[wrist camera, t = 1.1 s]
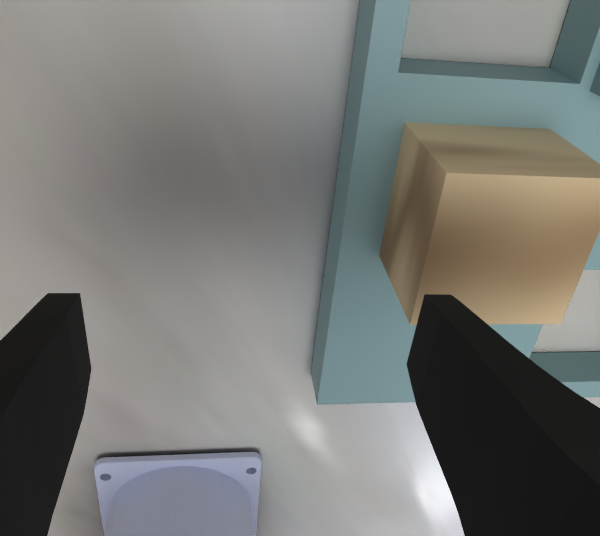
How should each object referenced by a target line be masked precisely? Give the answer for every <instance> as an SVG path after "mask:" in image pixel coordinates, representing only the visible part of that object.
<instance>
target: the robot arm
mask: <svg viewBox="0 0 600 536" xmlns="http://www.w3.org/2000/svg"><path fill="white" fill-rule="evenodd" d="M407 369H408V373H409V377H410V382H411V386H412V390H413V394H414V398H415V401H416V405H417V408H418V410H419V413H420V416H421V418H422V421H423V423H424V426H425V429H426V431H427V434H428V436H429V439H430V441H431V444H432V446H433V449H434V451H435V454H436V456H437V459H438V461H439V464H440V466H441V469H442V471H443V474H444V476H445V479H446V481H447V484H448V486H449V489H450V491H451V494H452V497H453V499H454V502H455V505H456V508H457V511H458V514H459V517H460V520H461V524H462V527H463V531H464V534H465V536H600V408H599V407H597V406H595V405H594V404H592V403H591V402H589V401H588V400H586V399H584V398H583V397H581V396H580V395H578V394H577V393H575V392H574V391H572V390H571V389H570V388H568V387H567V386H565V385H564V384H562V383H561V382H560V381H558V380H557V379H556V378H554V377H553V376H552V375H550V374H549V373H548V372H546V371H545V370H543V369H542V368H541V367H539V366H538V365H537V364H536V363H534V362H533V361H532V360H530V359H529V358H528V357H527V356H525V355H524V354H523V353H522V352H520V351H519V350H518V349H517V348H515V347H514V346H513V345H512V344H510V343H509V342H508V341H507V340H506V339H504V338H503V337H502V336H501V335H500V334H498V333H497V332H496V331H495V330H494V329H492V328H491V327H490V326H489V325H488V324H487V323H485V322H484V321H483V320H482V319H481V318H479V317H478V316H477V315H476V314H475V313H474V312H472V311H471V310H470V309H469V308H468V307H466V306H465V305H464V304H463V303H462V302H460V301H459V300H458V299H456V298H455V297H454V296H452V295H451V294H424V298H423V302H422V306H421V310H420V314H419V317H418V321H417V325H416V329H415V333H414V337H413V341H412V345H411V349H410V352H409V356H408V360H407ZM90 373H91V364H90V358H89V351H88V344H87V337H86V331H85V324H84V317H83V311H82V304H81V297H80V293H48V294H47V295H46V296H45V297H43V298H42V299H41V300H40V301H39V302H38V303H37V304H36V305H35V306H34V307H33V308H32V309H31V310H30V311H29V312H28V313H27V314H26V315H25V316H24V318H23V319H22V320H21V321H20V322H19V323H18V324H17V325H16V326H15V327H14V328H13V329H12V330H11V331H10V332H9V333H8V334H7V335H6V336H5V337H4V338H3V339H2V340H0V536H47V534H48V530H49V527H50V523H51V519H52V515H53V512H54V509H55V505H56V502H57V499H58V496H59V493H60V489H61V486H62V483H63V480H64V476H65V473H66V470H67V467H68V464H69V460H70V457H71V454H72V451H73V447H74V444H75V441H76V438H77V434H78V431H79V428H80V424H81V421H82V418H83V414H84V409H85V403H86V398H87V392H88V386H89V380H90ZM251 467H252V468H251ZM261 467H262V459H261V455H260V454H259V453H256V452H233V453H207V454H181V455H155V456H129V457H105V458H100V459H98V460H97V461H96V462H95V466H94V475H95V481H96V487H97V493H98V500H99V506H100V512H101V519H102V525H103V531H104V536H256V530H257V517H258V505H259V492H260V480H261Z"/></svg>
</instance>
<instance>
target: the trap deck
mask: <svg viewBox="0 0 600 536" xmlns="http://www.w3.org/2000/svg"><path fill="white" fill-rule="evenodd" d="M410 1H411V0H360V3H359V11H358V19H357V26H356V34H355V41H354V49H353V57H352V64H351V72H350V79H349V87H348V94H347V102H346V110H345V117H344V125H343V132H342V140H341V148H340V155H339V163H338V170H337V178H336V186H335V193H334V201H333V208H332V216H331V224H330V231H329V239H328V246H327V254H326V261H325V269H324V277H323V284H322V292H321V299H320V307H319V315H318V322H317V330H316V337H315V345H314V353H313V360H312V368H311V375H312V380H313V386H314V391H315V396H316V401H317V405H319V404H356V403H394V402H416V401H415V398H414V394H413V390H412V386H411V382H410V377H409V373H408V369H407V360H408V356H409V352H410V349H411V345H412V341H413V337H414V333H415V329H416V325H410V324H409V322H408V319H407V317H406V315H405V313H404V310H403V308H402V306H401V304H400V301H399V299H398V297H397V295H396V292H395V290H394V288H393V286H392V284H391V281H390V279H389V277H388V275H387V272H386V270H385V268H384V266H383V263H382V261H381V259H380V257H379V255H380V250H381V244H382V239H383V234H384V229H385V223H386V218H387V213H388V208H389V202H390V197H391V192H392V186H393V181H394V176H395V171H396V165H397V160H398V155H399V150H400V144H401V139H402V134H403V128H404V123H405V122H415V123H436V124H457V125H477V126H498V127H519V128H539V129H551V130H552V131H554V132H555V133H557V134H558V135H560V136H561V137H562V138H564V139H565V140H567V141H568V142H569V143H571V144H572V145H574V146H575V147H577V148H578V149H579V150H581V151H582V152H584V153H585V154H586V155H588V156H589V157H591V158H592V159H594V160H595V161H596V162H598V163H599V164H600V0H571V2H570V5H569V8H568V11H567V14H566V18H565V21H564V24H563V27H562V30H561V34H560V37H559V40H558V43H557V46H556V50H555V53H554V56H553V59H552V62H551V66H550V68H542V67H527V66H511V65H496V64H481V63H465V62H450V61H435V60H420V59H404V58H401V53H402V47H403V41H404V36H405V30H406V24H407V18H408V13H409V7H410ZM583 270H600V231H599V233H598V236H597V238H596V241H595V243H594V245H593V248H592V250H591V253H590V255H589V257H588V260H587V262H586V265H585V267H584V269H583ZM488 325H489V326H490V327H491V328H492V329H494V330H495V331H496V332H497V333H498V334H500V335H501V336H502V337H503V338H504V339H506V340H507V341H508V342H509V343H510V344H512V345H513V346H514V347H515V348H517V349H518V350H519V351H520V352H522V353H523V354H524V355H525V356H527V357H528V358H529V359H530V360H532V361H533V362H534V363H536V364H537V365H538V366H539V367H541V368H542V369H543V370H545V371H546V372H548V373H549V374H550V375H552V376H553V377H554V378H556V379H557V380H558V381H560V382H561V383H562V384H564V385H565V386H567V387H568V388H570V389H571V390H572V391H574V392H575V393H577V394H578V395H580V396H581V397H600V352H544V353H532V350H533V348H534V345H535V343H536V340H537V338H538V335H539V333H540V330H541V328H542V325H543V324H488Z"/></svg>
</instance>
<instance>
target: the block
mask: <svg viewBox="0 0 600 536" xmlns="http://www.w3.org/2000/svg"><path fill="white" fill-rule="evenodd" d="M599 231H600V164H599V163H598V162H596V161H595V160H594V159H592V158H591V157H589V156H588V155H586V154H585V153H584V152H582V151H581V150H579V149H578V148H577V147H575V146H574V145H572V144H571V143H569V142H568V141H567V140H565V139H564V138H562V137H561V136H560V135H558V134H557V133H555V132H554V131H552V130H551V129H539V128H519V127H498V126H477V125H457V124H436V123H415V122H405V123H404V128H403V134H402V139H401V144H400V150H399V155H398V160H397V165H396V171H395V176H394V181H393V186H392V192H391V197H390V202H389V208H388V213H387V218H386V223H385V229H384V234H383V239H382V244H381V250H380V255H379V257H380V259H381V261H382V263H383V266H384V268H385V270H386V272H387V275H388V277H389V279H390V281H391V284H392V286H393V288H394V290H395V292H396V295H397V297H398V299H399V301H400V304H401V306H402V308H403V310H404V313H405V315H406V317H407V319H408V322H409V324H410V325H417V321H418V317H419V314H420V310H421V306H422V302H423V298H424V294H451V295H452V296H454V297H455V298H456V299H458V300H459V301H460V302H462V303H463V304H464V305H465V306H466V307H468V308H469V309H470V310H471V311H472V312H474V313H475V314H476V315H477V316H478V317H479V318H481V319H482V320H483V321H484V322H485V323H487V324H561V322H562V319H563V317H564V315H565V312H566V310H567V308H568V305H569V303H570V300H571V298H572V296H573V293H574V291H575V288H576V286H577V284H578V281H579V279H580V276H581V274H582V272H583V269H584V267H585V265H586V262H587V260H588V257H589V255H590V253H591V250H592V248H593V245H594V243H595V241H596V238H597V236H598V233H599Z"/></svg>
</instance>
